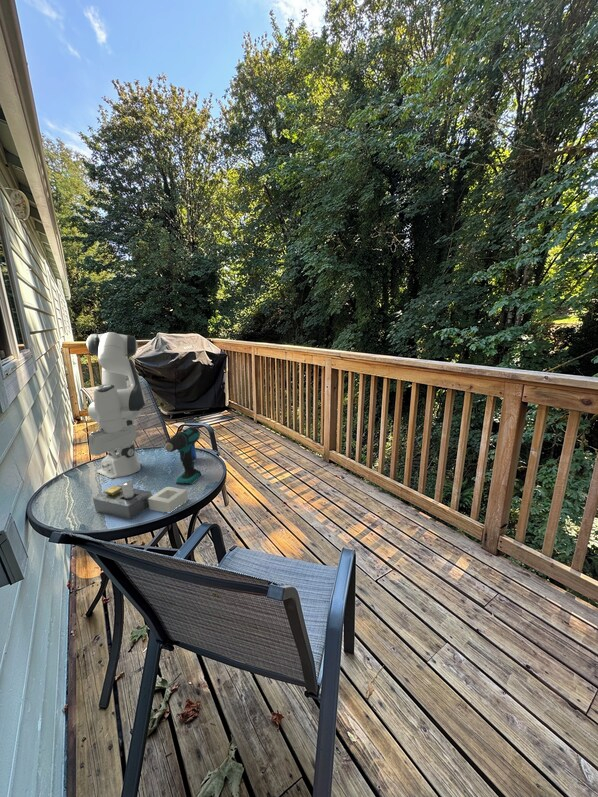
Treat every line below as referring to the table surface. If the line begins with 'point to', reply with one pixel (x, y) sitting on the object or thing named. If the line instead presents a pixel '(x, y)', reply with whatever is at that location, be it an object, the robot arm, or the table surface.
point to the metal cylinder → (128, 490)
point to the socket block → (122, 504)
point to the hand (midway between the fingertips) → (117, 457)
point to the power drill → (185, 453)
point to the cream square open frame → (167, 499)
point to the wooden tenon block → (113, 490)
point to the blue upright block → (193, 452)
